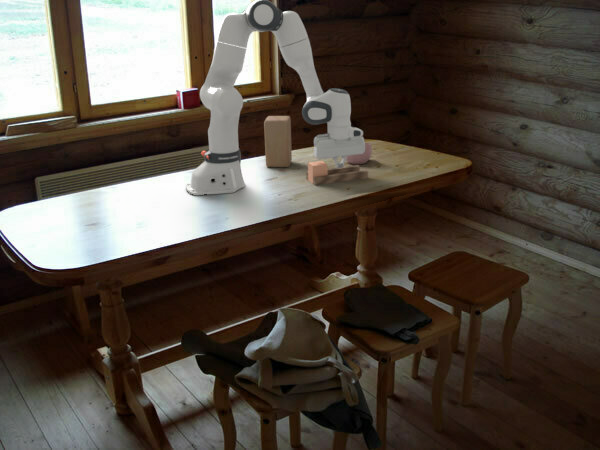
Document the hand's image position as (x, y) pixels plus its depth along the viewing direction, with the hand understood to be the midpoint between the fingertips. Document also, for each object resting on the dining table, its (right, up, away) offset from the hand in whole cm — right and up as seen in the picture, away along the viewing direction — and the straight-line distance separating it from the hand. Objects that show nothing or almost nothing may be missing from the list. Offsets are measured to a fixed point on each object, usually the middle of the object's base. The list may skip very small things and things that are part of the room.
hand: (339, 167), depth 249 cm
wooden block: (-24, +3, +26) cm, 35 cm away
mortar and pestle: (+9, +3, +23) cm, 25 cm away
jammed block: (-8, -5, -1) cm, 10 cm away
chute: (-1, -5, +2) cm, 6 cm away
